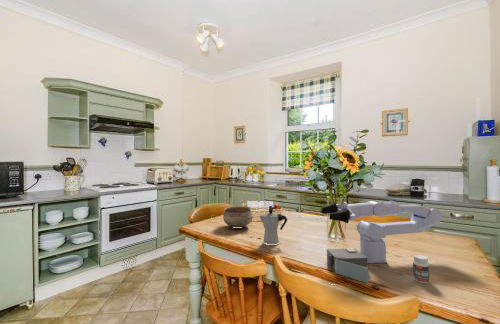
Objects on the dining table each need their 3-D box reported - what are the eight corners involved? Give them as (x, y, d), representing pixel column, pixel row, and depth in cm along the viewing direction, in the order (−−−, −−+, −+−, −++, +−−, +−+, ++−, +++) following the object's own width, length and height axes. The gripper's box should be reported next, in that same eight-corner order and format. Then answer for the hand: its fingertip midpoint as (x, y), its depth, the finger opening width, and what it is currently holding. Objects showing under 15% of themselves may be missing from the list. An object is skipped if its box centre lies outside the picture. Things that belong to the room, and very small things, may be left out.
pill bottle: (414, 282, 85) (414, 258, 85) (411, 276, 89) (411, 253, 89) (431, 284, 83) (430, 260, 83) (426, 278, 88) (426, 255, 88)
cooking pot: (213, 227, 158) (213, 208, 158) (233, 221, 173) (233, 204, 173) (242, 234, 142) (242, 213, 142) (262, 227, 157) (262, 208, 157)
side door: (368, 282, 85) (368, 267, 85) (367, 282, 84) (367, 268, 84) (335, 272, 93) (335, 259, 92) (334, 272, 92) (334, 259, 92)
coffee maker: (258, 245, 123) (257, 210, 123) (259, 240, 132) (259, 206, 132) (288, 246, 121) (287, 210, 121) (287, 240, 130) (287, 207, 130)
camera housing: (354, 260, 103) (354, 246, 103) (367, 271, 93) (367, 256, 93) (324, 261, 103) (324, 247, 103) (334, 272, 93) (334, 257, 93)
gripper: (346, 196, 110) (318, 199, 109) (366, 206, 96) (333, 210, 94) (346, 211, 111) (318, 214, 110) (365, 223, 97) (333, 227, 95)
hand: (325, 213), depth 102 cm, fingers open, 7 cm apart
